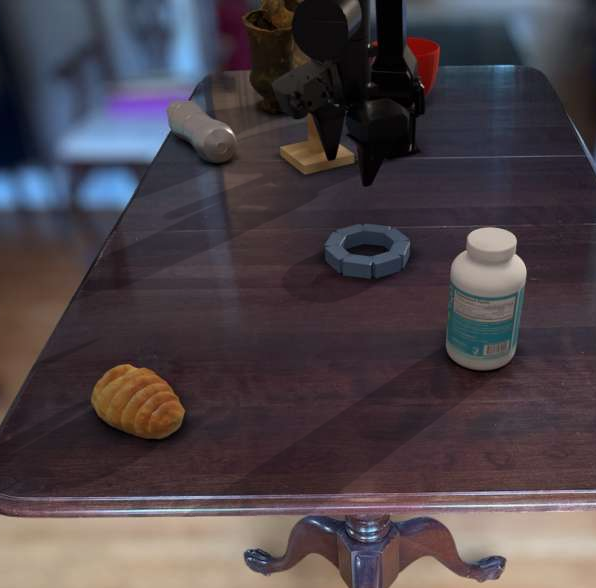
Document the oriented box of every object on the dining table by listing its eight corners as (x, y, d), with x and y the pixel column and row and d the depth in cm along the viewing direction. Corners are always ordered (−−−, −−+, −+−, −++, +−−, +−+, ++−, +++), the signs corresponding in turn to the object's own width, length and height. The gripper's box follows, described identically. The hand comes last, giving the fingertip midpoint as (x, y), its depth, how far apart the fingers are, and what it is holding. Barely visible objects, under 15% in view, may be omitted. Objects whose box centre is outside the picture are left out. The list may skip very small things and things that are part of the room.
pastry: (204, 417, 69) (198, 386, 66) (149, 456, 65) (139, 426, 62) (142, 380, 73) (134, 350, 71) (87, 415, 69) (75, 384, 67)
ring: (381, 231, 97) (381, 217, 96) (423, 264, 91) (423, 249, 89) (313, 250, 93) (312, 236, 92) (351, 286, 87) (351, 271, 85)
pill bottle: (469, 324, 80) (481, 213, 71) (527, 349, 77) (546, 235, 68) (431, 355, 76) (437, 241, 67) (490, 383, 72) (505, 266, 64)
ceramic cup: (351, 91, 142) (349, 36, 135) (436, 92, 141) (438, 37, 135) (346, 114, 132) (345, 56, 126) (438, 115, 132) (441, 56, 125)
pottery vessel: (270, 82, 147) (260, -29, 134) (323, 83, 146) (317, -29, 133) (244, 126, 128) (229, 1, 115) (304, 127, 127) (295, 2, 114)
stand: (328, 145, 121) (326, 99, 116) (354, 163, 115) (353, 115, 110) (280, 155, 118) (276, 109, 113) (304, 174, 112) (301, 126, 107)
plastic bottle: (240, 124, 112) (194, 90, 125) (199, 127, 109) (156, 92, 121) (241, 165, 116) (196, 128, 128) (201, 169, 112) (159, 131, 125)
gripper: (243, 26, 81) (258, 160, 92) (317, 67, 69) (325, 217, 79) (330, 14, 86) (335, 143, 96) (414, 51, 73) (409, 195, 84)
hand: (348, 172), depth 89 cm, fingers open, 9 cm apart
